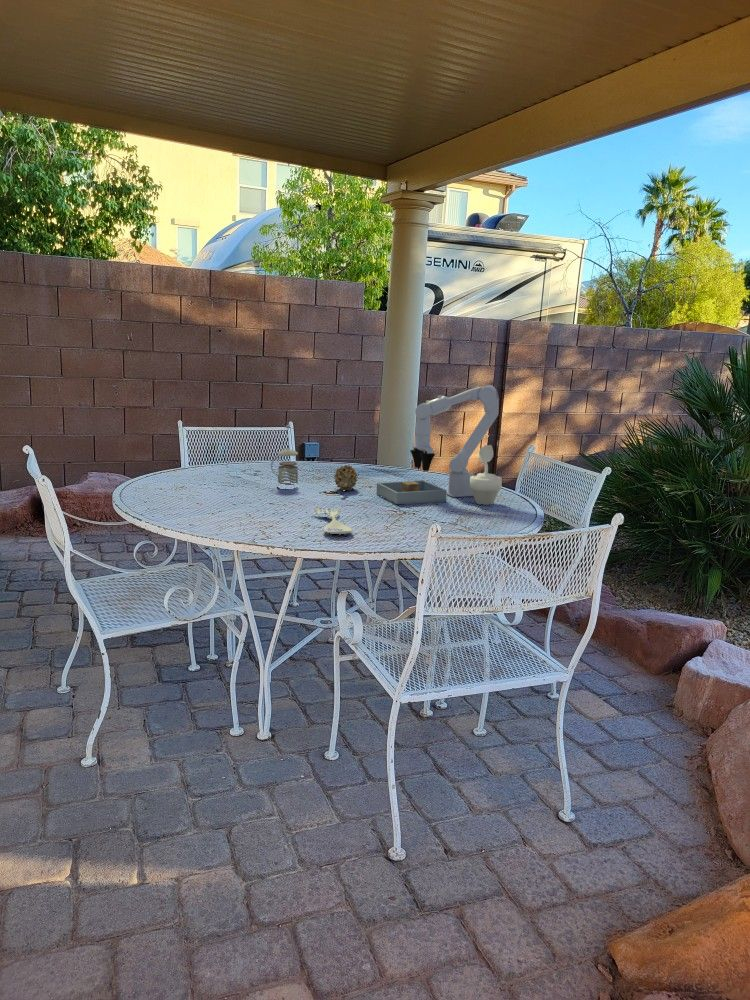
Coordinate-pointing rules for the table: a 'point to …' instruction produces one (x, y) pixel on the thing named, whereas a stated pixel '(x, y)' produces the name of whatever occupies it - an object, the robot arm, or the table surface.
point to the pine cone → (345, 477)
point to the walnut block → (410, 486)
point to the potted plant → (485, 479)
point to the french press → (289, 465)
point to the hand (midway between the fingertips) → (421, 469)
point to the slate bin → (411, 493)
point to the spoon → (334, 522)
